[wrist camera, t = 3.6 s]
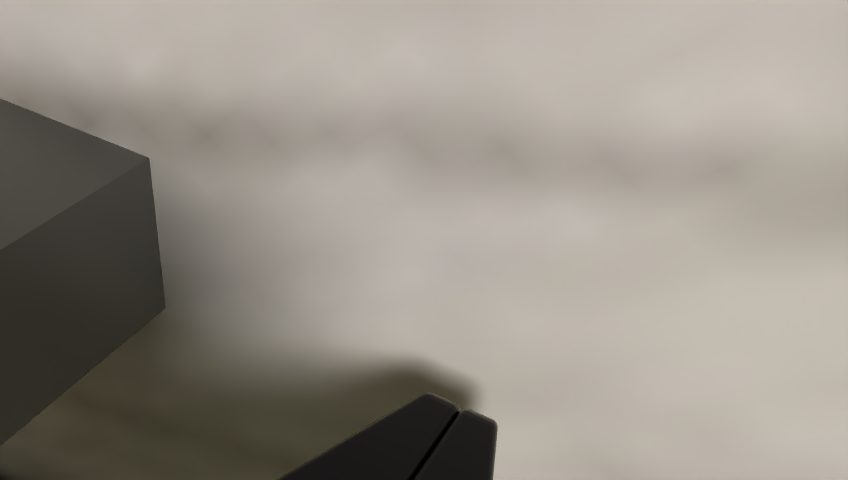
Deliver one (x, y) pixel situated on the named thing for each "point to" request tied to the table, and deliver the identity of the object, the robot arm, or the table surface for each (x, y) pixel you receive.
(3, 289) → the plug
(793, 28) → the table surface
